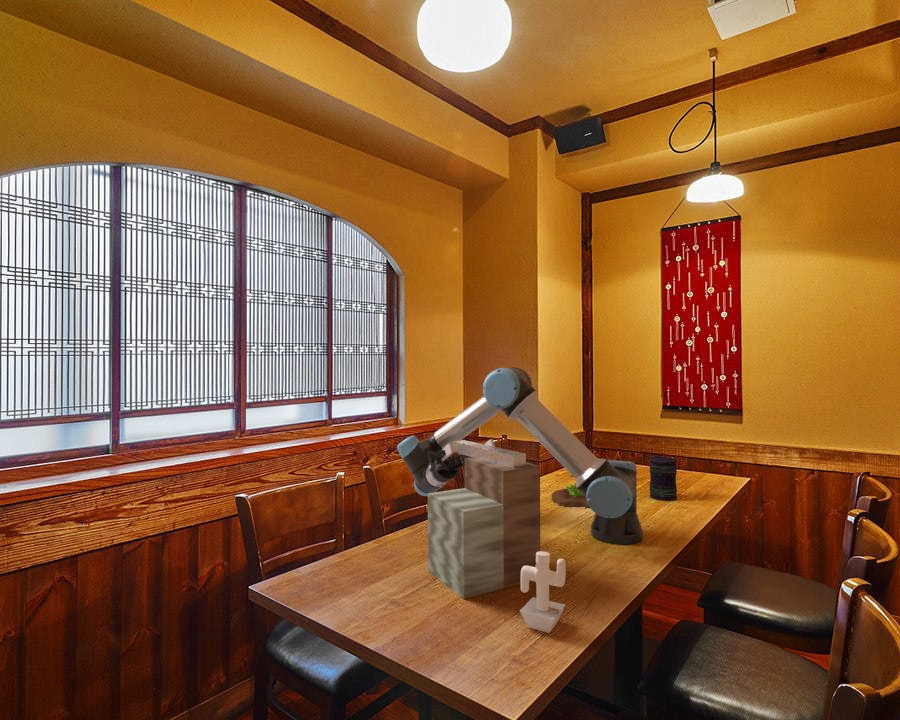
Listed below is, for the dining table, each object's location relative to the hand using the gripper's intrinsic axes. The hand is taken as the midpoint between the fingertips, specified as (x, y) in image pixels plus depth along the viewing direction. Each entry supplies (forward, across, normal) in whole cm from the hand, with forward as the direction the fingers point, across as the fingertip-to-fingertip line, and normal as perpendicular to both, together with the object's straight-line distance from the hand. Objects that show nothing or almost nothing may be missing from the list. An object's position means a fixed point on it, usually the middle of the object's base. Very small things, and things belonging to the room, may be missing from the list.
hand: (472, 445), depth 148 cm
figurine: (+20, +8, -47) cm, 52 cm away
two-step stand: (-3, +6, -33) cm, 34 cm away
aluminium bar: (+6, +1, -6) cm, 9 cm away
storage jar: (-26, -93, -20) cm, 99 cm away
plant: (-37, -62, -14) cm, 73 cm away
